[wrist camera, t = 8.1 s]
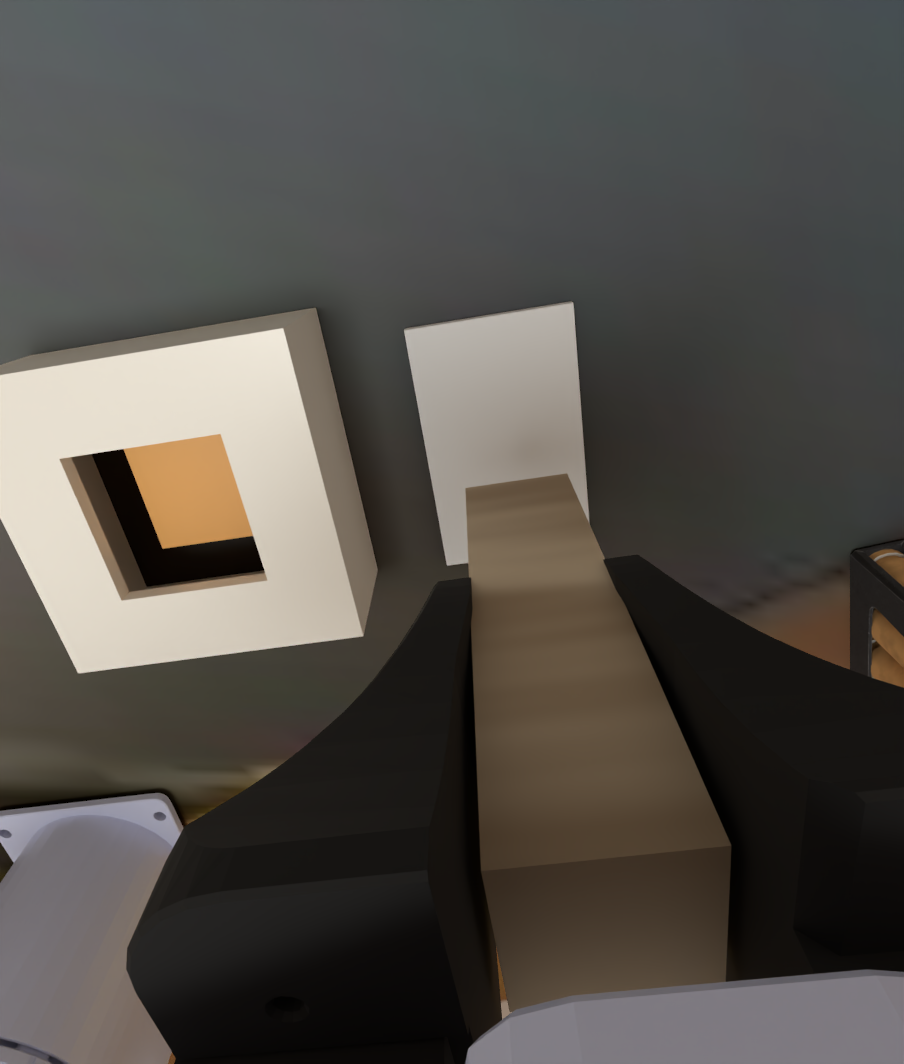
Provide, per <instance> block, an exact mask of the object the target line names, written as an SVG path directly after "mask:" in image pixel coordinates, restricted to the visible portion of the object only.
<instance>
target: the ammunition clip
mask: <svg viewBox="0 0 904 1064" xmlns="http://www.w3.org/2000/svg"><path fill="white" fill-rule="evenodd" d="M850 670H852V671H855V672H858V673H860V674H863V675H866V676H869V677H872V678H874V679H877V680H880V681H884V682H887V683H890V684H893V685H897V686H900V687H903V688H904V540H901V541H897V542H892V543H887V544H883V545H878V546H874V547H869V548H864V549H860V550H855V551H854V552H853V553H852V554H850Z"/></svg>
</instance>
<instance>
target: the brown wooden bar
mask: <svg viewBox="0 0 904 1064" xmlns="http://www.w3.org/2000/svg"><path fill="white" fill-rule="evenodd" d="M465 491H466V515H467V539H468V564H469V577H471V585H472V606H473V610H472V619H471V637H472V662H473V686H474V711H475V735H476V760H477V784H478V809H479V833H480V858H481V873H482V878H483V883H484V888H485V893H486V898H487V903H488V908H489V913H490V917H491V922H492V927H493V932H494V937H495V942H496V947H497V952H498V957H499V962H500V966H501V971H502V976H503V981H504V986H505V991H506V996H507V1001H508V1005H509V1010H510V1012H513V1011H515V1010H516V1009H520V1008H524V1007H528V1006H532V1005H536V1004H540V1003H544V1002H548V1001H552V1000H556V999H560V998H564V997H568V996H572V995H583V994H595V993H606V992H617V991H628V990H640V989H651V988H662V987H674V986H685V985H696V984H708V983H719V982H726V959H727V936H728V913H729V890H730V867H731V843H730V841H729V839H728V837H727V834H726V832H725V830H724V828H723V825H722V823H721V821H720V819H719V816H718V814H717V812H716V809H715V807H714V805H713V803H712V800H711V798H710V796H709V794H708V791H707V789H706V787H705V785H704V782H703V780H702V778H701V776H700V773H699V771H698V769H697V766H696V764H695V762H694V760H693V757H692V755H691V753H690V751H689V748H688V746H687V744H686V742H685V739H684V737H683V735H682V732H681V730H680V728H679V726H678V723H677V721H676V719H675V717H674V714H673V712H672V710H671V708H670V705H669V703H668V701H667V698H666V696H665V694H664V692H663V689H662V687H661V685H660V683H659V680H658V678H657V676H656V674H655V671H654V669H653V667H652V665H651V662H650V660H649V658H648V655H647V653H646V651H645V649H644V646H643V644H642V642H641V640H640V637H639V635H638V633H637V631H636V628H635V626H634V624H633V621H632V619H631V617H630V615H629V612H628V610H627V608H626V606H625V604H624V602H623V601H622V599H621V597H620V596H619V594H618V592H617V591H616V589H615V587H614V584H613V582H612V580H611V577H610V575H609V573H608V571H607V568H606V566H605V564H604V561H603V559H605V558H604V556H603V554H602V551H601V549H600V547H599V544H598V542H597V540H596V538H595V535H594V533H593V531H592V529H591V526H590V524H589V522H588V520H587V517H586V515H585V513H584V510H583V508H582V506H581V504H580V501H579V499H578V497H577V495H576V492H575V490H574V488H573V486H572V483H571V481H570V479H569V477H568V474H567V473H566V474H559V475H552V476H545V477H538V478H531V479H524V480H517V481H510V482H503V483H496V484H490V485H483V486H476V487H469V488H465Z"/></svg>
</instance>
